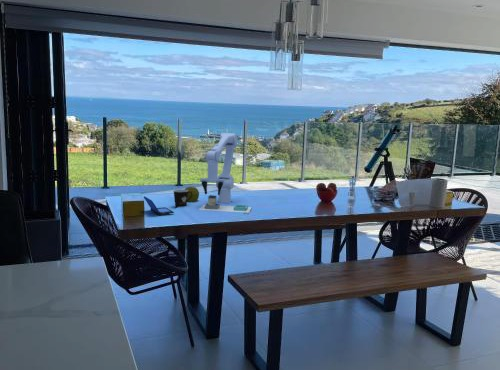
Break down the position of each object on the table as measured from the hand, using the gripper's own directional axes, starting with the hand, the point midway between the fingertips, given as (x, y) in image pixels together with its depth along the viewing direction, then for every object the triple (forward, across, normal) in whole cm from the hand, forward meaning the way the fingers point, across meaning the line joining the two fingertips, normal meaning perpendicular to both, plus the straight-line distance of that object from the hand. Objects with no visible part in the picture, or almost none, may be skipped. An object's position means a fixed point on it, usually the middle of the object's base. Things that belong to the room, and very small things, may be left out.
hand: (212, 194), depth 272 cm
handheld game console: (+10, -27, -15) cm, 33 cm away
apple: (+9, -17, +16) cm, 25 cm away
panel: (+9, +8, 0) cm, 12 cm away
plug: (+8, 0, 0) cm, 8 cm away
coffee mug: (+9, -18, +2) cm, 20 cm away
